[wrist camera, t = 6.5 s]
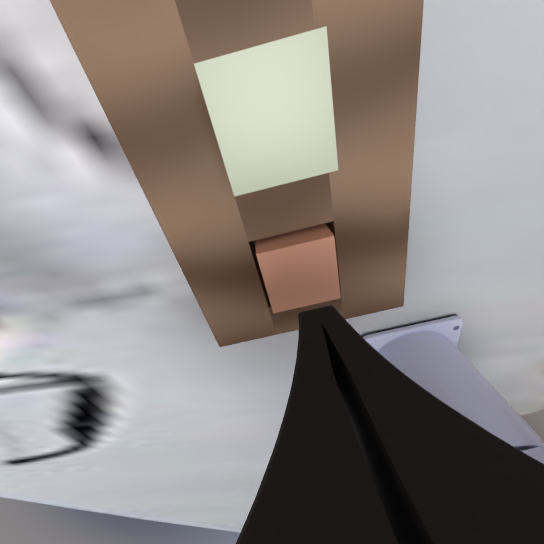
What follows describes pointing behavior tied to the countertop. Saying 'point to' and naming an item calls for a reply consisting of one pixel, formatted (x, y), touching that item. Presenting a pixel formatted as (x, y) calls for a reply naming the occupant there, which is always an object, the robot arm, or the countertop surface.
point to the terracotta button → (299, 267)
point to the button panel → (207, 156)
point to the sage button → (272, 111)
